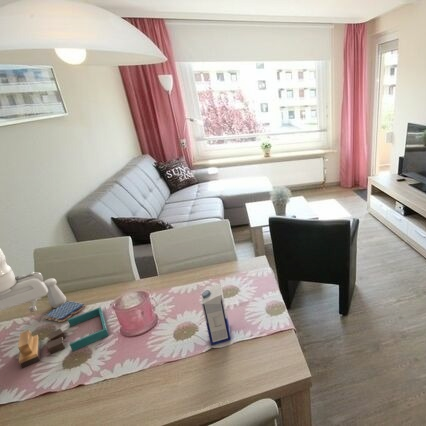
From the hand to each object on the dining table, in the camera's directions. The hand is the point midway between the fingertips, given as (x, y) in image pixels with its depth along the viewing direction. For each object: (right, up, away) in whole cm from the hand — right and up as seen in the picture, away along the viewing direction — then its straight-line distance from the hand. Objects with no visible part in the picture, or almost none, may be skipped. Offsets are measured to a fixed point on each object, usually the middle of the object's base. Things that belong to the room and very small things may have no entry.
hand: (15, 317), depth 98 cm
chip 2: (+8, -14, +7) cm, 17 cm away
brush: (0, -15, +5) cm, 16 cm away
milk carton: (+66, -10, +10) cm, 67 cm away
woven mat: (-5, -7, +26) cm, 27 cm away
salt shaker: (-13, -6, +31) cm, 34 cm away
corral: (+12, -11, +15) cm, 22 cm away
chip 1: (+4, -12, +12) cm, 17 cm away
